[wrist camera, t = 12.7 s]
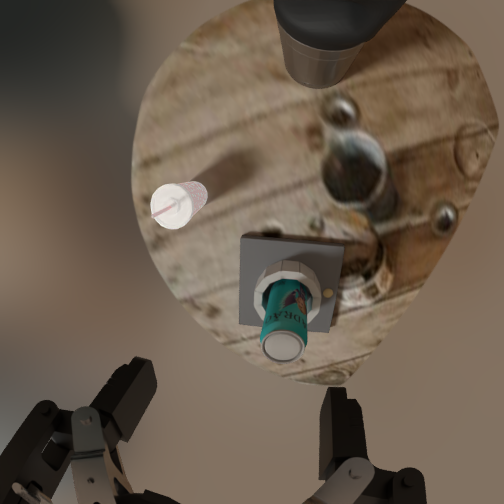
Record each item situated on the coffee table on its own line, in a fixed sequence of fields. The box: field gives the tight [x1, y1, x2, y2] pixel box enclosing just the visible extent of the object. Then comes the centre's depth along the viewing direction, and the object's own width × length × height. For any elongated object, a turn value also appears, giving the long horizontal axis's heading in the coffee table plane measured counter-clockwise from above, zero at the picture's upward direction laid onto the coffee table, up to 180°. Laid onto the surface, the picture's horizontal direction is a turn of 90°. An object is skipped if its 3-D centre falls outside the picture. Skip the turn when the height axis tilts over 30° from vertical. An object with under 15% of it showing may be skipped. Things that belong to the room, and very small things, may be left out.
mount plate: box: [239, 235, 345, 333], centre depth 44 cm, size 16×16×6 cm
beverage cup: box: [151, 181, 208, 229], centre depth 38 cm, size 6×6×14 cm
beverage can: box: [260, 278, 307, 364], centre depth 39 cm, size 6×6×15 cm
